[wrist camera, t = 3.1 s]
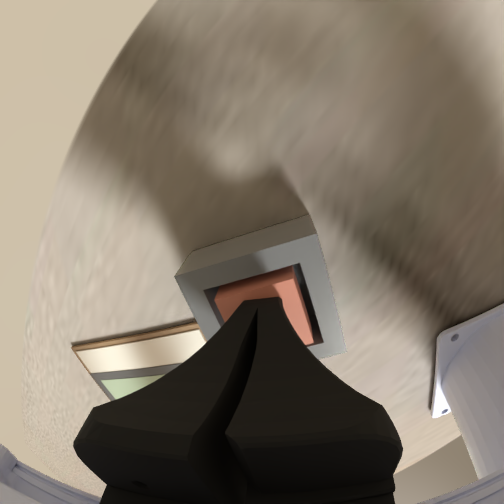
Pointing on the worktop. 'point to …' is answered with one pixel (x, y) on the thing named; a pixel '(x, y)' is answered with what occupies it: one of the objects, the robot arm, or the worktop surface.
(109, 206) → the worktop surface
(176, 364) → the picture board
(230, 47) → the worktop surface
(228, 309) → the button
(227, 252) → the button housing
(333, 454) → the robot arm
